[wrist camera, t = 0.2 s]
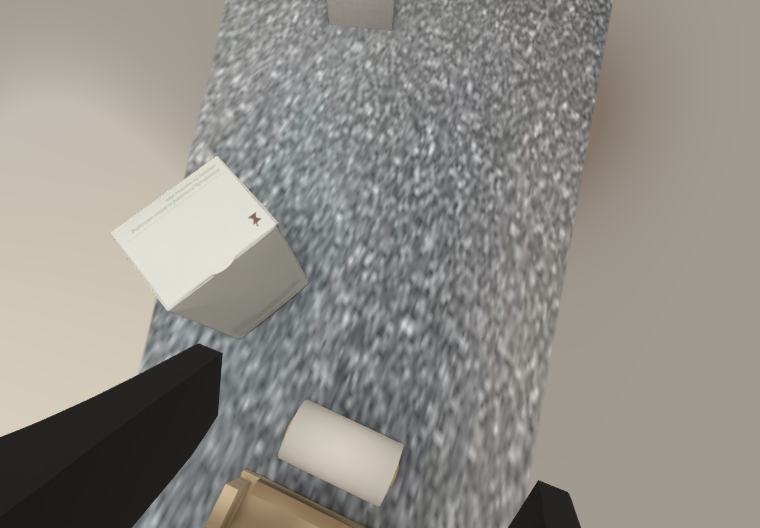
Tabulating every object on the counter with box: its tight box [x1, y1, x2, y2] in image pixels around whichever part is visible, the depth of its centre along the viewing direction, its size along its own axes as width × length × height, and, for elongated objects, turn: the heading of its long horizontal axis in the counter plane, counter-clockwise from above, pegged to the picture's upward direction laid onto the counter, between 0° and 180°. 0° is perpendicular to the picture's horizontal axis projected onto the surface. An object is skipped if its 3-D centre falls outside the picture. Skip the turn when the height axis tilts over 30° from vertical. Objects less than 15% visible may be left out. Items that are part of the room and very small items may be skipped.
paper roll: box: [278, 399, 403, 507], centre depth 37 cm, size 9×5×5 cm, turn 66°
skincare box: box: [111, 156, 309, 339], centre depth 36 cm, size 8×7×16 cm
